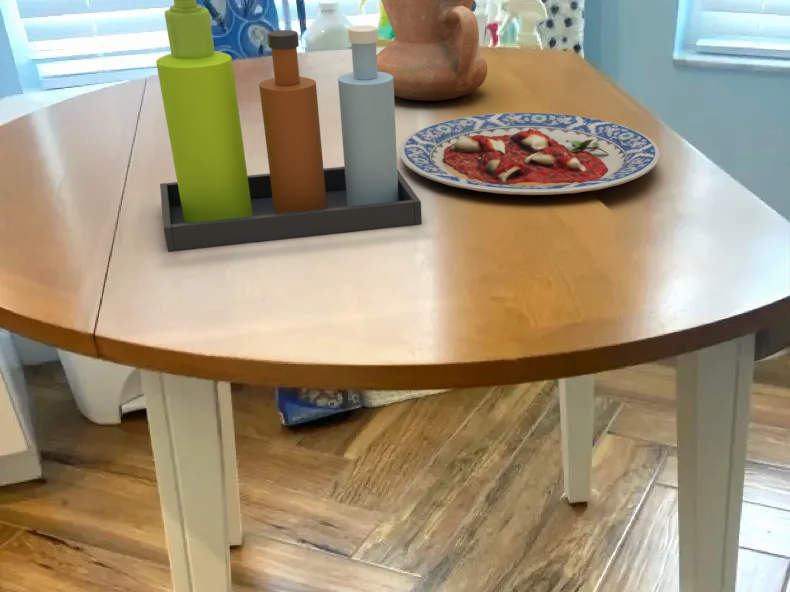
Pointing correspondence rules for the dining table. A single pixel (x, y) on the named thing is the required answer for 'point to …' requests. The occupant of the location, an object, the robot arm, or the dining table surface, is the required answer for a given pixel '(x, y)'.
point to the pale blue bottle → (368, 124)
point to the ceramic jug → (432, 49)
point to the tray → (286, 216)
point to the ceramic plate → (529, 153)
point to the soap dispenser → (203, 118)
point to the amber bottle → (292, 130)
